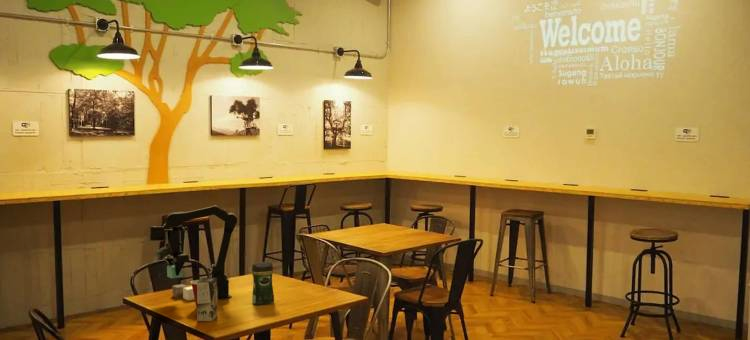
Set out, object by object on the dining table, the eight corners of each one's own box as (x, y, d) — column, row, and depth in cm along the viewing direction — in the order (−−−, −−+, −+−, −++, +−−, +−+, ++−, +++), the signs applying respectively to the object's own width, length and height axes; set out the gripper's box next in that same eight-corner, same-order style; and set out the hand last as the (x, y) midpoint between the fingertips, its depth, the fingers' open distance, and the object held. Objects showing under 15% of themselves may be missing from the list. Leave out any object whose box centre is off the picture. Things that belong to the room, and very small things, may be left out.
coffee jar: (271, 299, 312) (271, 259, 311) (275, 304, 304) (275, 263, 303) (250, 302, 308) (249, 261, 307) (254, 306, 301) (253, 264, 300)
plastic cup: (220, 305, 302) (220, 279, 301) (207, 312, 291) (206, 284, 291) (199, 303, 305) (199, 277, 304) (185, 309, 295) (185, 282, 294)
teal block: (182, 276, 310) (182, 266, 310) (171, 278, 307) (171, 267, 306) (177, 275, 314) (177, 264, 313) (167, 276, 310) (167, 265, 310)
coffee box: (212, 321, 278) (212, 282, 277) (197, 321, 278) (196, 282, 277) (218, 315, 287) (217, 277, 286) (203, 315, 287) (202, 277, 286)
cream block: (198, 298, 314) (197, 288, 314) (187, 300, 311) (187, 289, 311) (193, 296, 318) (193, 286, 318) (183, 298, 315) (183, 287, 315)
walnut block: (187, 296, 318) (187, 286, 318) (177, 298, 315) (176, 287, 315) (182, 294, 322) (182, 284, 322) (172, 296, 319) (172, 285, 319)
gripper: (148, 239, 311) (149, 273, 312) (165, 245, 297) (166, 280, 298) (171, 237, 318) (172, 270, 319) (189, 242, 304) (190, 276, 305)
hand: (174, 274), depth 310 cm, fingers closed on teal block, 5 cm apart
